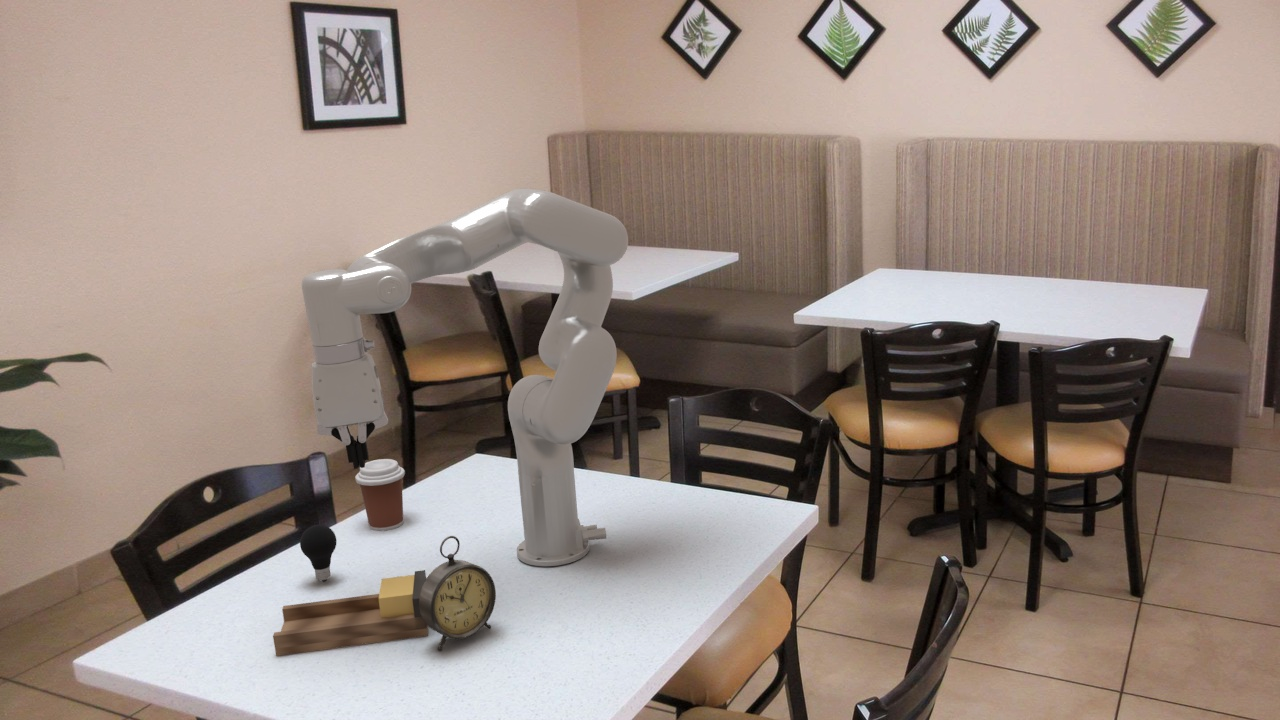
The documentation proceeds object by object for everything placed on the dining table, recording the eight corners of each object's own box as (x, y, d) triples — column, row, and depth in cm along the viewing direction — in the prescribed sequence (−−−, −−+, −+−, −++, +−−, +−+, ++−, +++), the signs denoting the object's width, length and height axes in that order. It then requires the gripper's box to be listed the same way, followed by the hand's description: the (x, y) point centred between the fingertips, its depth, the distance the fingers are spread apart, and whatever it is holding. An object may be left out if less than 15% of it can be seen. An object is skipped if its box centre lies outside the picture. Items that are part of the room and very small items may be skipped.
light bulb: (331, 589, 181) (323, 533, 179) (299, 588, 183) (291, 532, 180) (347, 574, 187) (340, 519, 185) (316, 573, 188) (308, 518, 186)
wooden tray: (429, 606, 173) (425, 570, 172) (427, 635, 163) (423, 597, 162) (286, 624, 170) (280, 588, 168) (276, 656, 160) (270, 617, 159)
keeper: (418, 604, 171) (414, 574, 170) (416, 624, 164) (412, 594, 163) (385, 608, 170) (381, 578, 169) (382, 629, 164) (378, 598, 162)
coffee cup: (420, 519, 210) (413, 460, 207) (386, 537, 202) (378, 475, 199) (386, 512, 214) (379, 454, 211) (351, 529, 207) (343, 469, 204)
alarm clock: (438, 658, 157) (425, 553, 153) (419, 645, 161) (406, 543, 157) (501, 630, 164) (491, 529, 160) (481, 619, 168) (471, 520, 164)
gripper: (390, 339, 170) (408, 450, 175) (291, 353, 167) (312, 465, 172) (389, 350, 163) (408, 465, 167) (286, 365, 160) (308, 481, 165)
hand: (359, 465), depth 170 cm, fingers closed
